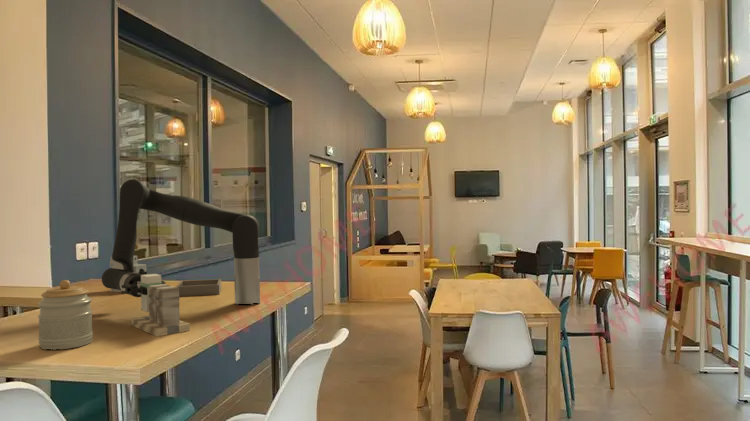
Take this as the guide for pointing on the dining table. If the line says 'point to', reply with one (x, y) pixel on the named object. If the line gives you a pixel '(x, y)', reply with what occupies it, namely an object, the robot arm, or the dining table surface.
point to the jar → (65, 317)
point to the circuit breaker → (137, 268)
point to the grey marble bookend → (162, 312)
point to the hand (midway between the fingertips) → (154, 290)
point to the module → (146, 282)
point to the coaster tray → (199, 287)
